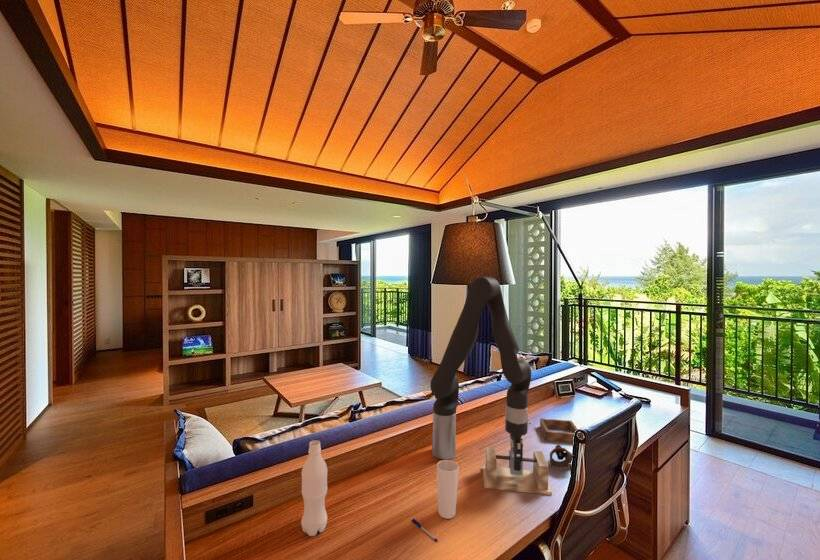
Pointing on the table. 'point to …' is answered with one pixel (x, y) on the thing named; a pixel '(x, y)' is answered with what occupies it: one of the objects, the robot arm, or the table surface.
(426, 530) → the ballpoint pen
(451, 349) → the robot arm
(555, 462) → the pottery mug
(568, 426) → the open wooden frame
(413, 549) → the table surface
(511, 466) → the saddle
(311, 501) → the water bottle
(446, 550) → the table surface
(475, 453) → the table surface
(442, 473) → the drinking glass
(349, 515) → the table surface
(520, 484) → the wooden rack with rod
